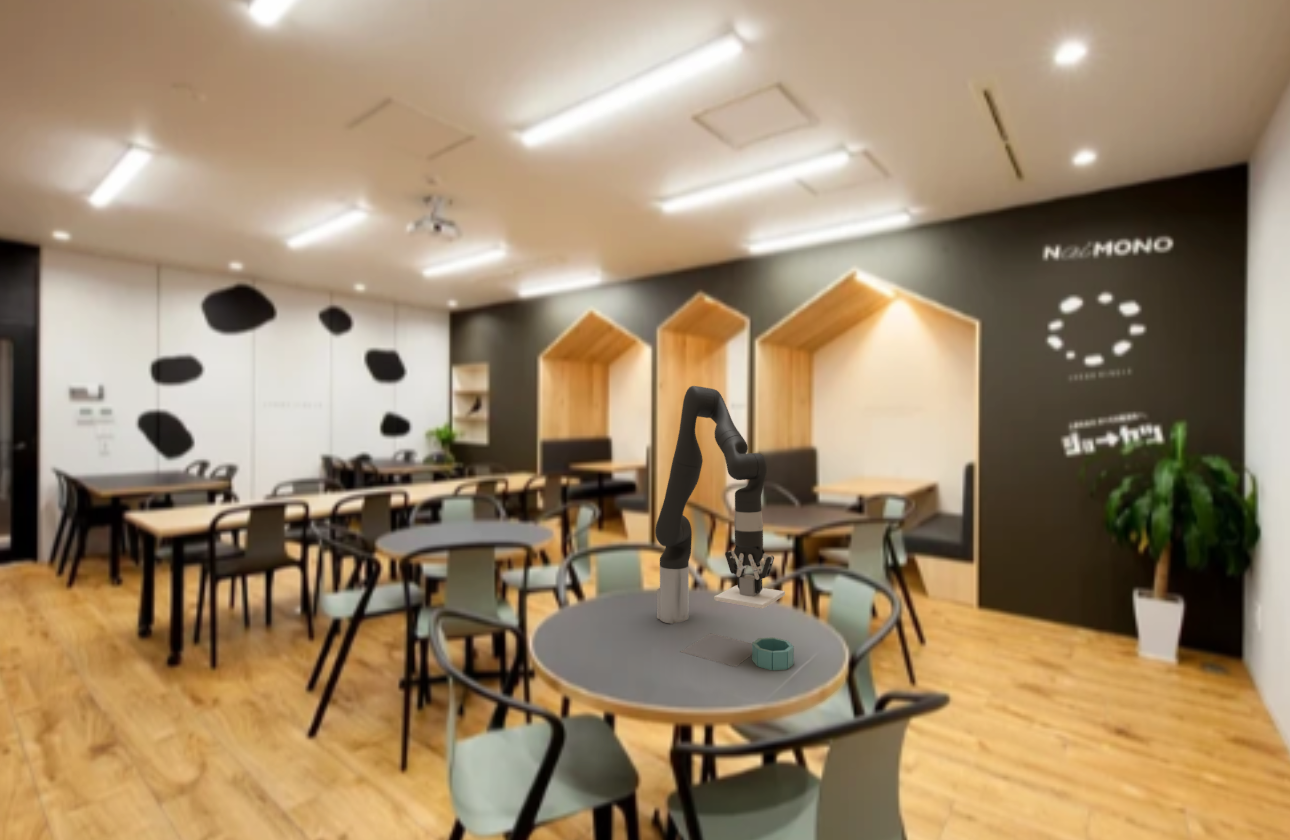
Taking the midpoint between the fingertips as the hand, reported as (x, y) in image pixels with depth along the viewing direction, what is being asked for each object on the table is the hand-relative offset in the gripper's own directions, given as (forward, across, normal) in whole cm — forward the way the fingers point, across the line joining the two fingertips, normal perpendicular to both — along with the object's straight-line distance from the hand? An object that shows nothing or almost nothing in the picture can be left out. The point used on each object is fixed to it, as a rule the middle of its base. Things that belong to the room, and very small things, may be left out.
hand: (750, 591), depth 164 cm
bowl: (+18, +6, 0) cm, 19 cm away
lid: (+2, 0, 0) cm, 2 cm away
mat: (+18, -9, 0) cm, 20 cm away
